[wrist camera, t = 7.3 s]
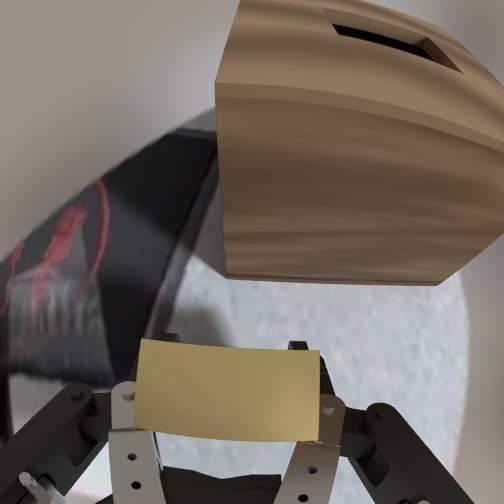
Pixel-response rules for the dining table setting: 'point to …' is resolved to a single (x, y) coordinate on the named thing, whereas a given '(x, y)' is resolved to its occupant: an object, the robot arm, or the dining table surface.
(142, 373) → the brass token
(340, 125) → the box
